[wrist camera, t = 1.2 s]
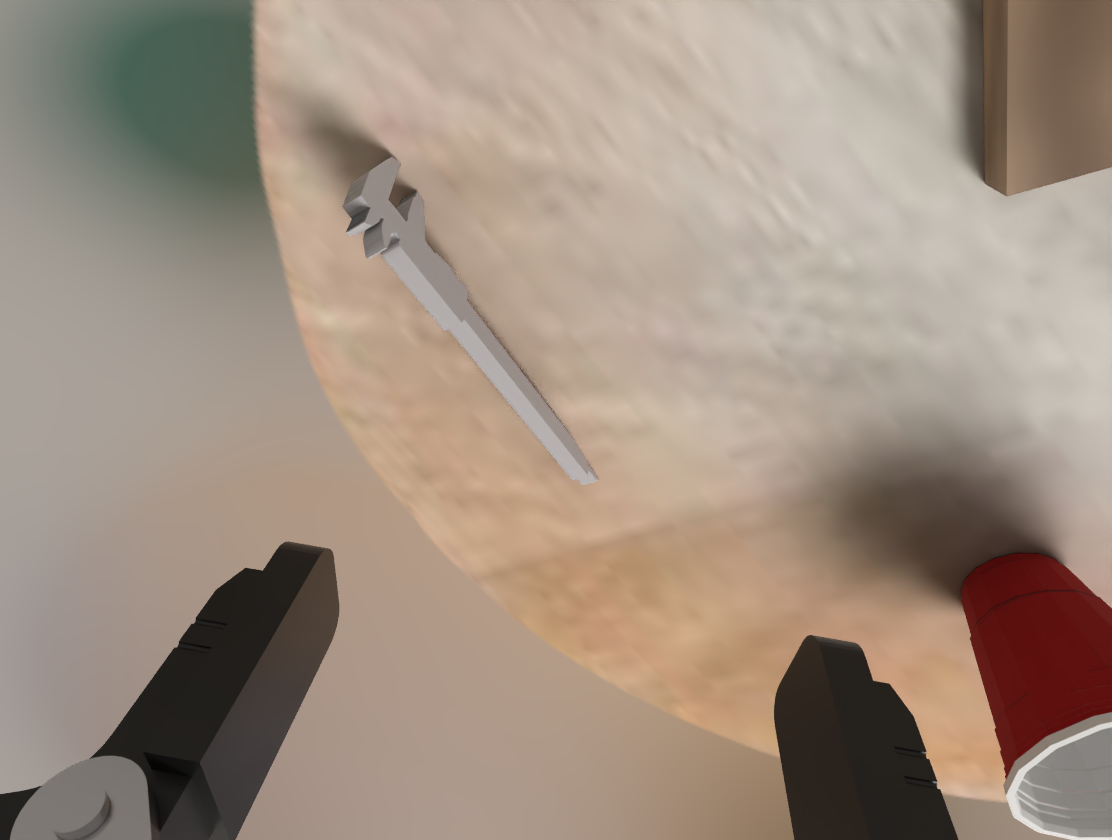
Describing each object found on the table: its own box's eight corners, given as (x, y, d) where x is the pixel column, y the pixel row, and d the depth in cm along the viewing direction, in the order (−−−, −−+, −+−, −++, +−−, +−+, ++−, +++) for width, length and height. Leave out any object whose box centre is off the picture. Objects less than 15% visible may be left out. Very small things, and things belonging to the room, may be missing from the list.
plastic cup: (1111, 634, 40) (1264, 849, 30) (920, 650, 43) (1000, 850, 33) (1138, 504, 34) (1335, 713, 24) (916, 532, 37) (1011, 729, 27)
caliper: (378, 164, 30) (320, 201, 24) (396, 152, 29) (341, 188, 24) (584, 480, 38) (573, 557, 33) (600, 475, 38) (592, 551, 33)
